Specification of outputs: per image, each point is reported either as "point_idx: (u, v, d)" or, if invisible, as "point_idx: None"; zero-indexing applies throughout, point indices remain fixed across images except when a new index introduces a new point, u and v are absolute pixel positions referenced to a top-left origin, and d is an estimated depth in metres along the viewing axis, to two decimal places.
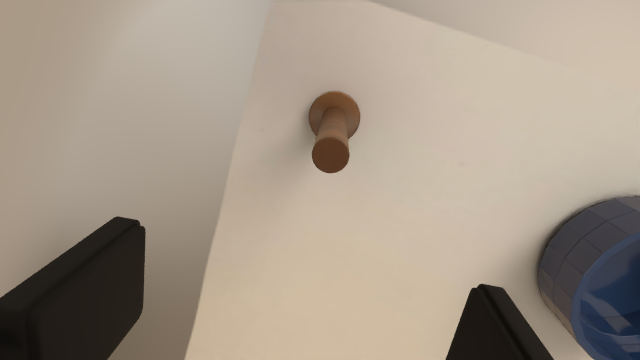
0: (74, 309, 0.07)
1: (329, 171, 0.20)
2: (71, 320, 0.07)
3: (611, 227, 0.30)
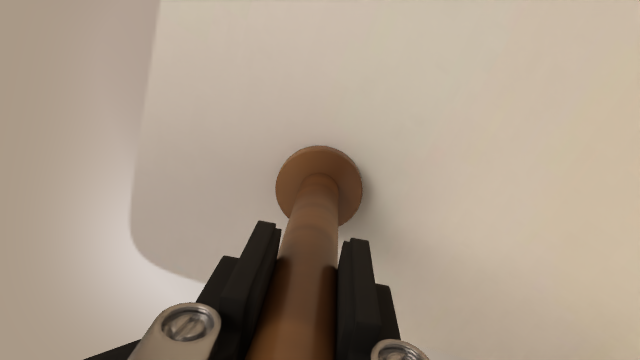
0: (260, 301, 0.09)
1: None
2: (258, 310, 0.09)
3: None
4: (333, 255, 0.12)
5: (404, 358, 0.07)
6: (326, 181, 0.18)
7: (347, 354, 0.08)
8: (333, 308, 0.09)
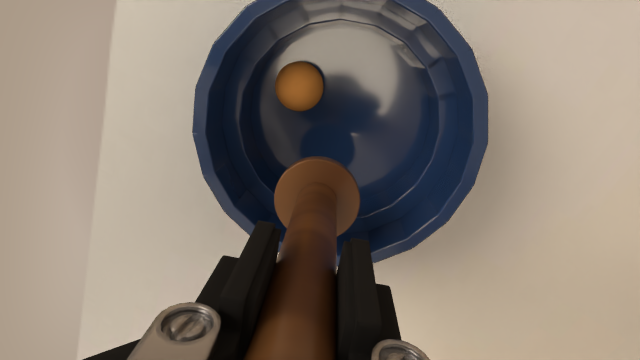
0: (260, 300, 0.09)
1: None
2: (258, 310, 0.09)
3: None
4: (329, 254, 0.12)
5: (404, 358, 0.07)
6: (321, 189, 0.18)
7: (347, 354, 0.08)
8: (329, 301, 0.09)
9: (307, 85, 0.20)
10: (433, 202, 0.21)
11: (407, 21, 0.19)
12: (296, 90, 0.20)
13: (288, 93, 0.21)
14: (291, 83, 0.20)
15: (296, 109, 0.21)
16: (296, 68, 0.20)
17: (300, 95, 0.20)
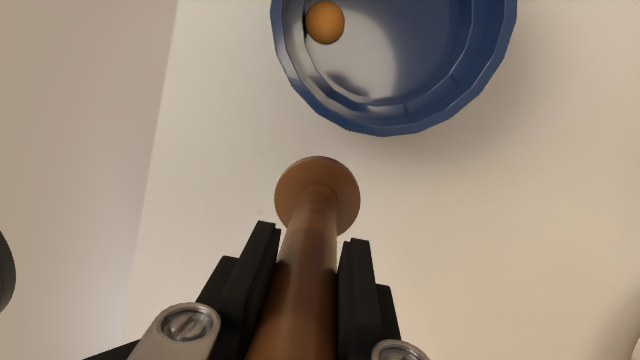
0: (260, 301, 0.09)
1: None
2: (258, 310, 0.09)
3: None
4: (329, 254, 0.12)
5: (405, 358, 0.07)
6: (321, 189, 0.18)
7: (347, 354, 0.08)
8: (330, 301, 0.09)
9: None
10: (467, 82, 0.24)
11: None
12: None
13: None
14: None
15: None
16: (306, 28, 0.26)
17: None
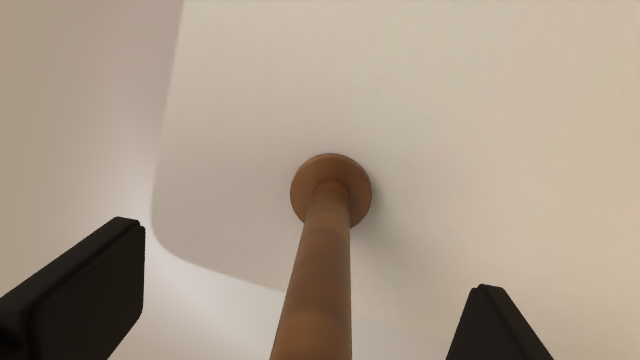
0: (74, 309, 0.07)
1: None
2: (71, 320, 0.07)
3: None
4: (344, 252, 0.13)
5: None
6: (335, 186, 0.19)
7: None
8: (345, 298, 0.11)
9: None
10: None
11: None
12: None
13: None
14: None
15: None
16: None
17: None
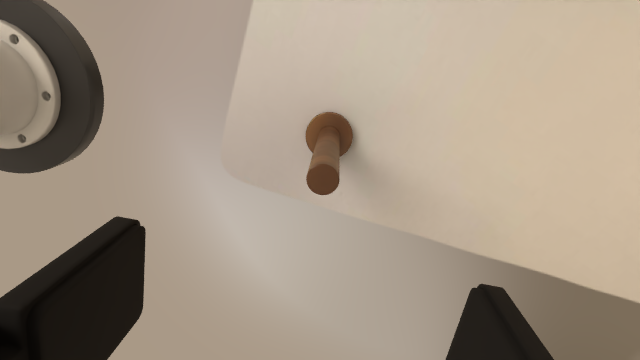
0: (74, 309, 0.07)
1: (337, 178, 0.23)
2: (71, 320, 0.07)
3: None
4: (336, 148, 0.28)
5: None
6: (331, 128, 0.34)
7: None
8: (337, 157, 0.26)
9: None
10: None
11: None
12: None
13: None
14: None
15: None
16: None
17: None
